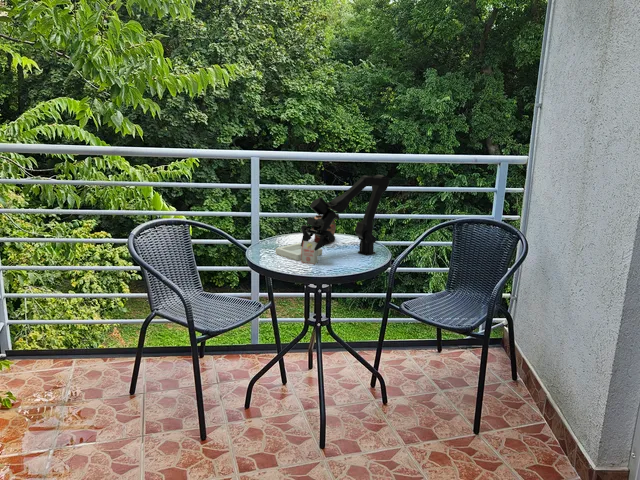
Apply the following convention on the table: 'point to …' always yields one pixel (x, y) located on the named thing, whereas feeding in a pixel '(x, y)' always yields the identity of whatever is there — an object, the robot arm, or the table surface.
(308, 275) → the table surface
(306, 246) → the tea bag
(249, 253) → the table surface
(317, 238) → the decorative planter
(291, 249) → the housing tray
